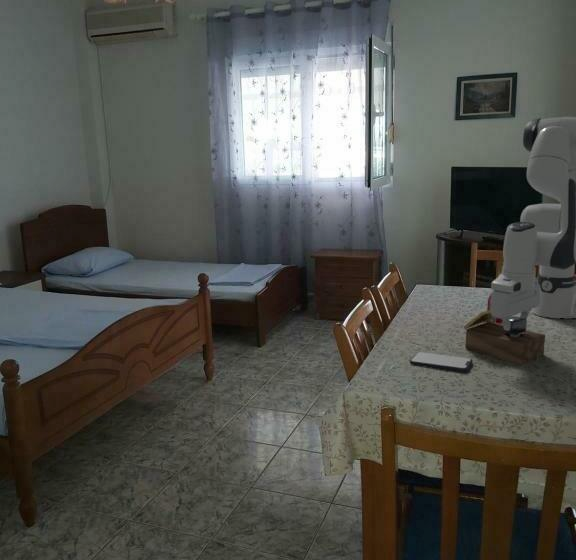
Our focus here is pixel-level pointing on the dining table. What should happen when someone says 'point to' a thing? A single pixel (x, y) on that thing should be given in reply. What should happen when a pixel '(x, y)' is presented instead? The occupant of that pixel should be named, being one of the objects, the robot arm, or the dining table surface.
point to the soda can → (490, 309)
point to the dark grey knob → (517, 326)
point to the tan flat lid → (480, 319)
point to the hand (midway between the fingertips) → (515, 327)
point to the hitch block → (505, 343)
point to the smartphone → (442, 362)
